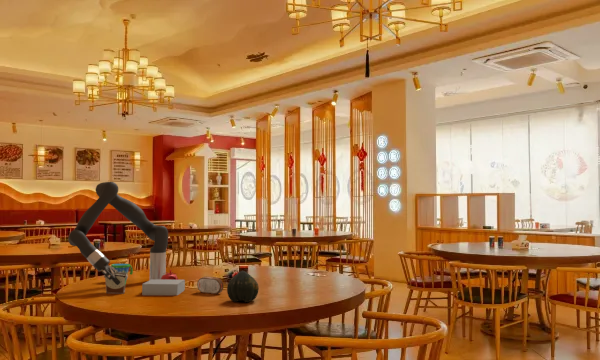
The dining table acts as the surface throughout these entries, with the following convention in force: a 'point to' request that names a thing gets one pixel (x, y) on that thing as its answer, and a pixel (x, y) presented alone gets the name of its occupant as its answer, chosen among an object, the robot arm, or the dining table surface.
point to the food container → (114, 288)
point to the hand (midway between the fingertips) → (120, 282)
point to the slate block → (163, 287)
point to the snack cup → (123, 268)
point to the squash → (242, 287)
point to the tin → (210, 285)
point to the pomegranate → (169, 276)
